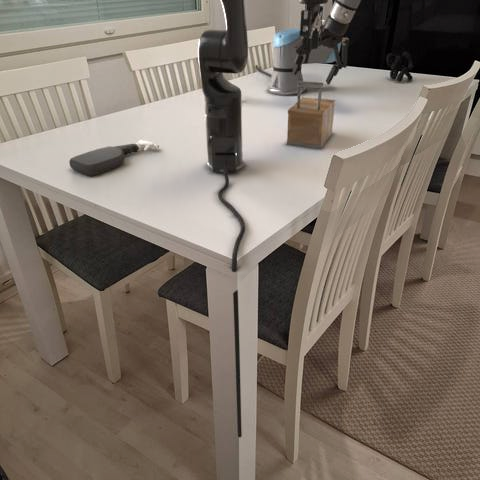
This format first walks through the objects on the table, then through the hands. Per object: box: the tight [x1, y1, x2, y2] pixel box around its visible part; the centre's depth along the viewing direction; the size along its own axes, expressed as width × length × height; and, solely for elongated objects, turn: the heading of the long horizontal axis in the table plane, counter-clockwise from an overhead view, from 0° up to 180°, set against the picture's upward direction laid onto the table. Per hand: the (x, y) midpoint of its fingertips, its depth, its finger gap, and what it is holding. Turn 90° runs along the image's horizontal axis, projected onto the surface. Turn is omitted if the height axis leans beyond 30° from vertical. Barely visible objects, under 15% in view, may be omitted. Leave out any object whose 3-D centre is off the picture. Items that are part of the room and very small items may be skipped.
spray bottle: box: [68, 139, 160, 177], centre depth 124 cm, size 3×11×24 cm
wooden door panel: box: [287, 80, 336, 117], centre depth 129 cm, size 15×10×8 cm
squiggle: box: [385, 51, 414, 83], centre depth 198 cm, size 11×10×15 cm
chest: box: [286, 104, 335, 150], centre depth 134 cm, size 14×10×9 cm
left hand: (310, 51), depth 121 cm, fingers open, 8 cm apart
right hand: (310, 78), depth 161 cm, fingers open, 13 cm apart
